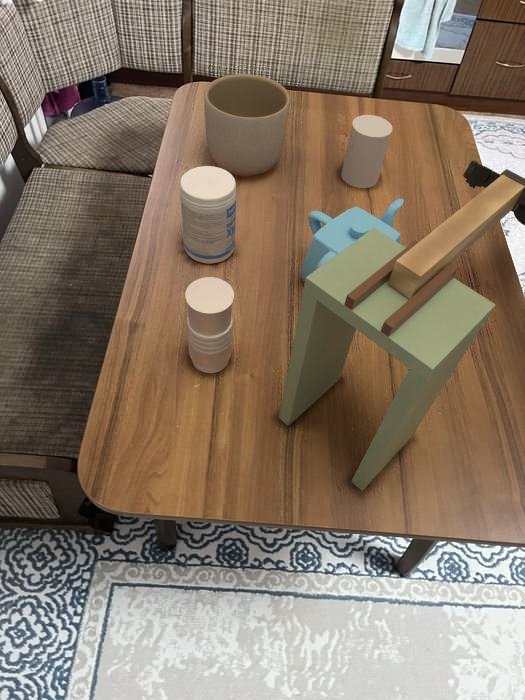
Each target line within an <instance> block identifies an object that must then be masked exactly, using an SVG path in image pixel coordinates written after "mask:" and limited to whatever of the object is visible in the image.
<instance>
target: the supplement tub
mask: <svg viewBox="0 0 525 700" xmlns="http://www.w3.org/2000/svg"><path fill="white" fill-rule="evenodd" d="M179 183H180V186H179V194H180V195H179V196H180V197H179V198H180V210H181V224H182V236H183V237H182V238H183V239H182V240H183V248H184V251H185V252H186V254H187V255H188V256H189V257H190V258H191V259H192V260H194V261H196V262H199V263H203V264H217V263H221V262H223V261H225V260H227V259H228V258H230V257H231V256H232V254H233V253H234V251H235V246H236V219H237V218H236V217H237V214H236V213H237V187H236V185H237V183H236V179H235V177H234V176H233V174H231V173H229V172H228V171H226V170H224V169H222V168H221V167H219V166H214V165H213V166H212V165H202V166H196V167H193V168H190V169H189V170H187V171H185V173H183V175H182V176H181V178H180V182H179Z"/></svg>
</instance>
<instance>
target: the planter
mask: <svg viewBox="0 0 525 700" xmlns="http://www.w3.org/2000/svg"><path fill="white" fill-rule="evenodd" d="M203 103H204V124H205V125H204V126H205V138H206V140H205V141H206V145H207V149H208V153H209V156H210V157H211V159H212V161H213V162H214V163H215V164H216V165H217V167H218V168H221V169H224V170H226V171H228V172H229V173H230V174H231V175H235V176H239V177H253V176H257V175H261V174H263V173H266V172H267V171H269V170H271V169H272V168H273V167H274V166H275V165H276V164H277V163H278V161H279V159H280V157H281V156H282V152H283V149H284V145H285V140H286V134H287V127H288V120H289V113H290V105H291V95H290V93H289V91H288V90H287V89H286V88H285V86H284V85H282V84H281V83H279V82H277V81H275V80H273V79H271V78H268V77H265V76H261V75H256V74H250V73H249V74H248V73H237V74H234V73H233V74H229V75H225V76H221V77H218V78H216V79H214V80H212V81H211V82H210V83H209V84H207V86H206V87H205V89H204V92H203Z"/></svg>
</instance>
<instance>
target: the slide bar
mask: <svg viewBox="0 0 525 700" xmlns="http://www.w3.org/2000/svg"><path fill="white" fill-rule="evenodd" d="M500 174H501V175H500V177H499V178H498V179H497V180H495V181H494V182H493V183H492V184H490V185H489V186H488V187H487V188H485V187H484V189H483V190H481V191H480V192H479V193H478V194H477V195H476V196H474V197H473V198H471V199H470V200H469V201H468V202H466V204H464V205H463V206H462V207H460V209H458V210H457V211H455V212H454V213H453V214H452V215H450V216H449V217H448V218H447V219H445V220H444V221H443V222H442V223H441V224H439V225H438V226H437V227H436V228H435V229H434V230H432V231H431V232H430V233H428V234H427V235H426V236H424V237H423V238H422V239H421V240H419V241H418V243H417V244H416V245H415V246H414V247H412V248H411V249H410V250H409V251H407V252H406V253H405V254H404V255H402V256H401V257H400V258H399V259H397V260H396V263H395V265H394V268H393V271H392V273H391V276H390V279H389V281H388V285H389V286H391V287H392V288H394V289H395V290H396V291H398V292H399V293H401V294H402V295H404V296H405V297H407V298H408V299H410V298H412V297H413V296H414V295H415V294H416V293H417V292H418V291H420V290H421V289H422V288H423V287H424V286H425V285H426V284H427V283H429V282H430V281H431V280H432V279H433V278H434V277H435V276H436V275H438V274H439V273H440V272H441V271H442V270H443V269H444V268H446V267H447V266H448V265H449V264H450V263H452V264H454V262H455V261H456V260H457V259H459V257H461V256H462V255H463V254H464V253H465V252H466V251H467V250H469V249H470V248H471V247H472V246H473V245H474V244H475V243H476V242H478V241H479V240H480V239H481V238H482V237H483V236H485V234H487V233H488V232H489V231H490V230H492V228H494V227H495V226H496V225H497V224H498V223H499V222H500V221H502V219H504V218H505V217H506V216H507V215H508V214H509V213H510V212H512V213H513V211H514V210H515V209H517V208H518V206H519V204H520V202H521V200H522V199H523V197H524V195H525V177H523V176H521V175H520V174H517V173H516V172H513V171H512V170H510V169H507V168H506V169H504V170H503V171H502V172H501V173H500Z"/></svg>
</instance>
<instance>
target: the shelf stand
mask: <svg viewBox="0 0 525 700" xmlns="http://www.w3.org/2000/svg"><path fill="white" fill-rule="evenodd" d="M417 243H419V241H417V240H414V241H413V242H411V243H410V244H409V245H408V246H404V245H403V244H401V243H398V242H397V241H395V240H393V239H392V238H390V237H389V236H387V235H386V234H384V233H382V232H381V231H379V230H378V229H376V228H375V227H374V228H372V229H371V230H370V231H368V232H367V233H366V234H364V235H363V236H362V237H360V238H359V239H357V240H356V241H355V242H353V243H352V244H351V245H349V246H348V247H347V248H345V249H344V250H342V251H341V252H340V253H338V254H337V255H336V256H334V257H333V258H332V259H330V260H329V261H327V262H326V263H325V264H323V265H322V266H321V267H319V268H318V269H317V270H315V271H314V272H312V273H311V274H310V275H308V276H307V277H306V279H305V281H304V286H303V290H302V295H301V299H300V300H301V301H300V305H299V310H298V314H297V315H298V317H297V321H296V326H295V331H294V336H293V341H292V346H291V352H290V357H289V362H288V368H287V372H286V377H285V383H284V388H283V392H282V393H283V394H282V399H281V404H280V409H279V414H278V418H279V420H281V421H282V422H283V423H284V424H285V425H286V426H287V427H289V426H290V425H291V424H293V422H295V421H296V420H297V419H298V418H299V417H300V416H301V415H302V414H303V413H304V412H305V411H306V410H308V408H310V407H311V406H312V405H313V404H314V403H316V401H318V400H319V399H320V398H322V396H323V395H324V394H326V392H328V391H329V390H330V389H331V388H332V387H333V386H334V385H335V384H336V383H338V382H339V381H340V377H341V376H342V372H343V369H344V366H345V363H346V360H347V357H348V354H349V352H350V348H351V345H352V343H353V339H354V337H355V334H356V330H357V331H358V332H359V333H361V335H363V336H365V337H366V338H368V339H369V340H370V341H371V342H373V343H374V344H375V345H377V346H378V347H380V348H381V349H382V350H384V351H385V352H386V353H388V354H389V355H391V356H392V357H394V359H396V360H397V361H399V362H400V363H401V364H402V365H404V366H405V367H407V368H408V371H407V373H406V375H405V376H404V378H403V380H402V382H401V384H400V386H399V388H398V389H397V392H396V394H395V396H394V397H393V400H392V401H391V402H390V403H391V404H390V405H389V407H388V408H387V411H386V413H385V415H384V416H383V419H382V421H381V422H380V425H379V426H378V428H377V431H376V433H375V435H374V436H373V438H372V440H371V442H370V444H369V446H368V448H367V450H366V451H365V453H364V455H363V458H362V459H361V461H360V462H359V465H358V467H357V469H356V471H355V473H354V475H353V477H352V479H351V481H350V482H351V483H352V484H353V485H354V486H356V488H358V489H359V490H360V491H361V492H363V491H364V490H365V489H366V488H367V487H368V485H369V484H370V483H371V482H372V481H373V480H374V479H375V478H376V477H377V476H378V475H379V474H380V472H382V470H383V469H384V468H385V467H386V466H387V465H388V464H389V462H390V461H391V460H392V459H393V458H394V457H395V456H396V455H397V454H398V453H399V451H400V450H401V449H402V448H403V447H405V445H406V444H407V442H409V440H411V438H412V437H413V435H414V434H415V432H416V431H417V429H418V428H419V426H420V424H421V423H422V421H423V419H424V418H425V417H426V415H427V413H428V412H429V410H430V408H432V405H433V404H434V403H435V401H436V399H437V398H438V397H439V395H440V393H441V391H442V390H443V388H444V387H445V385H446V384H447V382H448V380H449V379H450V377H451V376H452V374H453V372H454V371H455V370H456V368H457V366H458V365H459V363H461V361H462V359H463V358H464V355H466V353H467V351H468V350H469V348H470V346H471V345H472V343H473V342H474V340H475V338H476V337H477V336H478V334H479V332H480V331H481V329H482V328H483V326H484V324H485V323H486V322H487V320H488V319H489V316H490V315H491V313H492V312H493V310H494V309H495V307H496V303H494V302H492V301H491V300H489V299H488V298H487V297H485V296H483V295H481V293H478V292H476V291H475V290H473V289H472V288H471V287H469V286H467V285H466V284H464V283H463V282H461V281H459V280H458V279H456V278H455V276H456V274H457V272H458V270H459V267H458V266H457V265H455V264H454V263H450V264H449V265H448V266H447V267H446V268H444V269H443V270H442V271H441V272H440V273H439V274H438V275H436V276H435V277H434V278H433V279H432V280H431V281H430V282H429V283H427V284H426V285H425V286H424V287H423V288H422V289H421V290H420V291H418V292H417V293H416V294H415V295H414V296H413V297H412V298H410V299H408V298H407V297H405V296H404V295H402V294H401V293H399V292H398V291H396V290H395V289H394V288H392V287H391V286H389V285H388V281H389V279H390V276H391V273H392V271H393V268H394V265H395V263H396V260H397V259H399V258H400V257H401V256H402V255H404V254H405V253H406V252H407V251H409V250H410V249H411V248H412V247H414V246H415V245H416V244H417Z"/></svg>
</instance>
